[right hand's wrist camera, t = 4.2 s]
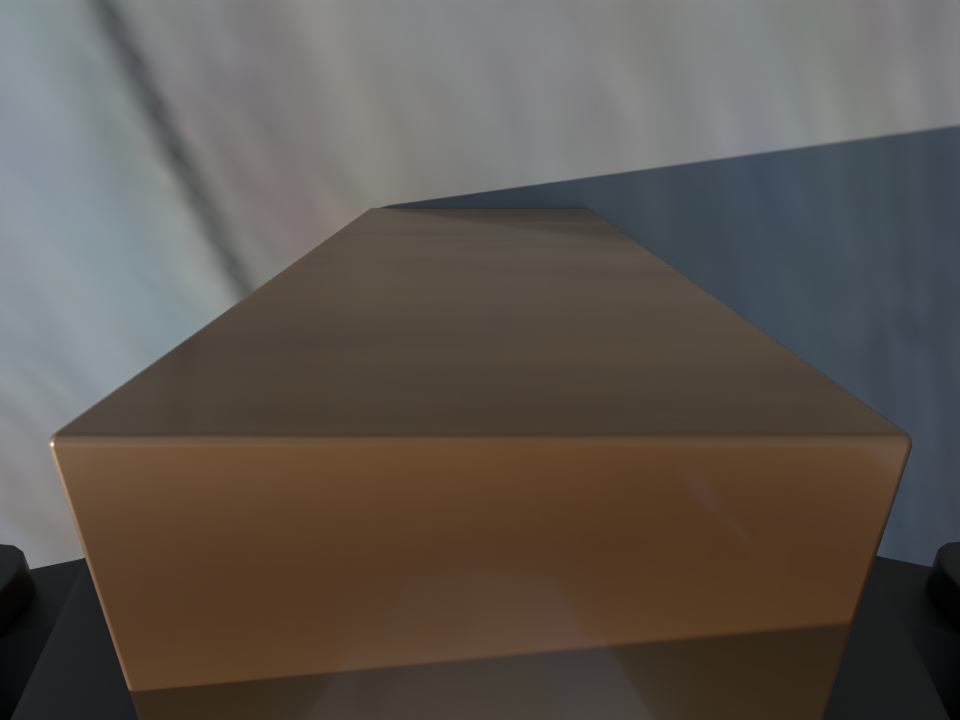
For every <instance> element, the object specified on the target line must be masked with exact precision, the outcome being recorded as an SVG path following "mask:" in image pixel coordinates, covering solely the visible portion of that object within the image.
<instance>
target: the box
mask: <svg viewBox="0 0 960 720" xmlns="http://www.w3.org/2000/svg"><path fill="white" fill-rule="evenodd" d="M49 448H50V451H51V454H52V457H53V460H54V463H55V466H56V469H57V472H58V475H59V478H60V482H61V485H62V488H63V491H64V494H65V497H66V500H67V503H68V506H69V509H70V512H71V515H72V518H73V521H74V524H75V527H76V530H77V533H78V537H79V540H80V543H81V546H82V549H83V552H84V555H85V558H86V561H87V564H88V567H89V570H90V573H91V576H92V579H93V582H94V585H95V589H96V592H97V595H98V598H99V601H100V604H101V607H102V610H103V613H104V616H105V619H106V622H107V625H108V628H109V631H110V634H111V637H112V640H113V644H114V647H115V650H116V653H117V656H118V659H119V662H120V665H121V668H122V671H123V674H124V677H125V680H126V683H127V686H128V689H129V692H130V695H131V699H132V702H133V705H134V708H135V711H136V714H137V717H138V720H822V719H823V716H824V713H825V710H826V707H827V704H828V701H829V698H830V695H831V692H832V689H833V686H834V683H835V680H836V676H837V673H838V670H839V667H840V664H841V661H842V658H843V655H844V652H845V649H846V646H847V643H848V640H849V637H850V634H851V631H852V628H853V625H854V622H855V619H856V615H857V612H858V609H859V606H860V603H861V600H862V597H863V594H864V591H865V588H866V585H867V582H868V579H869V576H870V573H871V570H872V567H873V564H874V561H875V558H876V554H877V551H878V548H879V545H880V542H881V539H882V536H883V533H884V530H885V527H886V524H887V521H888V518H889V515H890V512H891V509H892V506H893V503H894V500H895V497H896V493H897V490H898V487H899V484H900V481H901V478H902V475H903V472H904V469H905V466H906V463H907V460H908V457H909V454H910V451H911V448H912V441H911V438H910V436H909V435H908V434H907V433H906V432H904V431H903V430H901V429H900V428H899V427H897V426H896V425H894V424H893V423H892V422H890V421H889V420H887V419H886V418H885V417H883V416H882V415H880V414H879V413H878V412H876V411H875V410H873V409H872V408H870V407H869V406H868V405H866V404H865V403H863V402H862V401H861V400H859V399H858V398H856V397H855V396H854V395H852V394H851V393H849V392H848V391H846V390H845V389H844V388H842V387H841V386H839V385H838V384H837V383H835V382H834V381H832V380H831V379H830V378H828V377H827V376H825V375H824V374H823V373H821V372H820V371H818V370H817V369H815V368H814V367H813V366H811V365H810V364H808V363H807V362H806V361H804V360H803V359H801V358H800V357H799V356H797V355H796V354H794V353H793V352H791V351H790V350H789V349H787V348H786V347H784V346H783V345H782V344H780V343H779V342H777V341H776V340H775V339H773V338H772V337H770V336H769V335H768V334H766V333H765V332H763V331H762V330H760V329H759V328H758V327H756V326H755V325H753V324H752V323H751V322H749V321H748V320H746V319H745V318H744V317H742V316H741V315H739V314H738V313H736V312H735V311H734V310H732V309H731V308H729V307H728V306H727V305H725V304H724V303H722V302H721V301H720V300H718V299H717V298H715V297H714V296H713V295H711V294H710V293H708V292H707V291H705V290H704V289H703V288H701V287H700V286H698V285H697V284H696V283H694V282H693V281H691V280H690V279H689V278H687V277H686V276H684V275H683V274H681V273H680V272H679V271H677V270H676V269H674V268H673V267H672V266H670V265H669V264H667V263H666V262H665V261H663V260H662V259H660V258H659V257H658V256H656V255H655V254H653V253H652V252H650V251H649V250H648V249H646V248H645V247H643V246H642V245H641V244H639V243H638V242H636V241H635V240H634V239H632V238H631V237H629V236H628V235H626V234H625V233H624V232H622V231H621V230H619V229H618V228H617V227H615V226H614V225H612V224H611V223H610V222H608V221H607V220H605V219H604V218H603V217H601V216H600V215H598V214H597V213H595V212H594V211H593V210H591V209H589V208H371V209H369V210H368V211H366V212H365V213H363V214H362V215H361V216H359V217H358V218H356V219H355V220H354V221H352V222H351V223H349V224H348V225H347V226H345V227H344V228H342V229H341V230H339V231H338V232H337V233H335V234H334V235H332V236H331V237H330V238H328V239H327V240H325V241H324V242H323V243H321V244H320V245H318V246H317V247H316V248H314V249H313V250H311V251H310V252H309V253H307V254H306V255H304V256H303V257H301V258H300V259H299V260H297V261H296V262H294V263H293V264H292V265H290V266H289V267H287V268H286V269H285V270H283V271H282V272H280V273H279V274H278V275H276V276H275V277H273V278H272V279H271V280H269V281H268V282H266V283H265V284H263V285H262V286H261V287H259V288H258V289H256V290H255V291H254V292H252V293H251V294H249V295H248V296H247V297H245V298H244V299H242V300H241V301H240V302H238V303H237V304H235V305H234V306H233V307H231V308H230V309H228V310H227V311H225V312H224V313H223V314H221V315H220V316H218V317H217V318H216V319H214V320H213V321H211V322H210V323H209V324H207V325H206V326H204V327H203V328H202V329H200V330H199V331H197V332H196V333H195V334H193V335H192V336H190V337H189V338H187V339H186V340H185V341H183V342H182V343H180V344H179V345H178V346H176V347H175V348H173V349H172V350H171V351H169V352H168V353H166V354H165V355H164V356H162V357H161V358H159V359H158V360H157V361H155V362H154V363H152V364H151V365H149V366H148V367H147V368H145V369H144V370H142V371H141V372H140V373H138V374H137V375H135V376H134V377H133V378H131V379H130V380H128V381H127V382H126V383H124V384H123V385H121V386H120V387H119V388H117V389H116V390H114V391H113V392H111V393H110V394H109V395H107V396H106V397H104V398H103V399H102V400H100V401H99V402H97V403H96V404H95V405H93V406H92V407H90V408H89V409H88V410H86V411H85V412H83V413H82V414H81V415H79V416H78V417H76V418H75V419H74V420H72V421H71V422H69V423H68V424H66V425H65V426H64V427H62V428H61V429H59V430H58V431H57V432H55V433H54V434H52V436H51V438H50V441H49Z"/></svg>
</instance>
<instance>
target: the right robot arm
mask: <svg viewBox="0 0 960 720" xmlns="http://www.w3.org/2000/svg"><path fill="white" fill-rule="evenodd" d="M0 720H138V717H137V714H136V711H135V708H134V705H133V702H132V699H131V695H130V692H129V689H128V686H127V683H126V680H125V677H124V674H123V671H122V668H121V665H120V662H119V659H118V656H117V653H116V650H115V647H114V644H113V640H112V637H111V634H110V631H109V628H108V625H107V622H106V619H105V616H104V613H103V610H102V607H101V604H100V601H99V598H98V595H97V592H96V589H95V585H94V582H93V579H92V576H91V573H90V570H89V567H88V564H87V561H86V558H83V559H79V560H74V561H70V562H65V563H60V564H55V565H50V566H45V567H40V568H36V569H31V570H30V569H29V566H28V564H27V561H26V558H25V556H24V553H23V552H22V551H21V550H19V549H18V548H17V547H15V546H12V545H2V544H0ZM822 720H960V542H955V543H947V544H946V545H944V546H943V547H941V548H940V549H938V552H937V555H936V557H935V560H934V562H933V565H932V567H927V566H922V565H918V564H913V563H908V562H903V561H898V560H893V559H888V558H883V557H880V556H876V558H875V561H874V564H873V567H872V570H871V573H870V576H869V579H868V582H867V585H866V588H865V591H864V594H863V597H862V600H861V603H860V606H859V609H858V612H857V615H856V619H855V622H854V625H853V628H852V631H851V634H850V637H849V640H848V643H847V646H846V649H845V652H844V655H843V658H842V661H841V664H840V667H839V670H838V673H837V676H836V680H835V683H834V686H833V689H832V692H831V695H830V698H829V701H828V704H827V707H826V710H825V713H824V716H823V719H822Z"/></svg>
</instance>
